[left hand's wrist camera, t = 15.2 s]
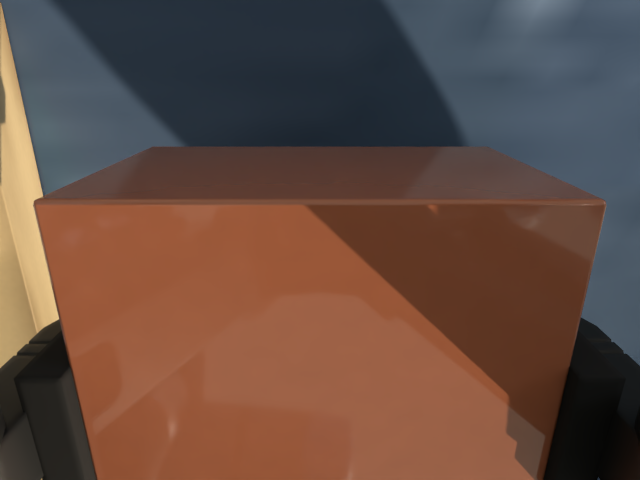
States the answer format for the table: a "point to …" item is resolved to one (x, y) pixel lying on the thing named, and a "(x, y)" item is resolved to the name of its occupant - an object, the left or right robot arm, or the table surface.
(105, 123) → the table surface
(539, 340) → the cap block
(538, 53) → the table surface
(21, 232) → the beige stand
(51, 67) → the table surface
